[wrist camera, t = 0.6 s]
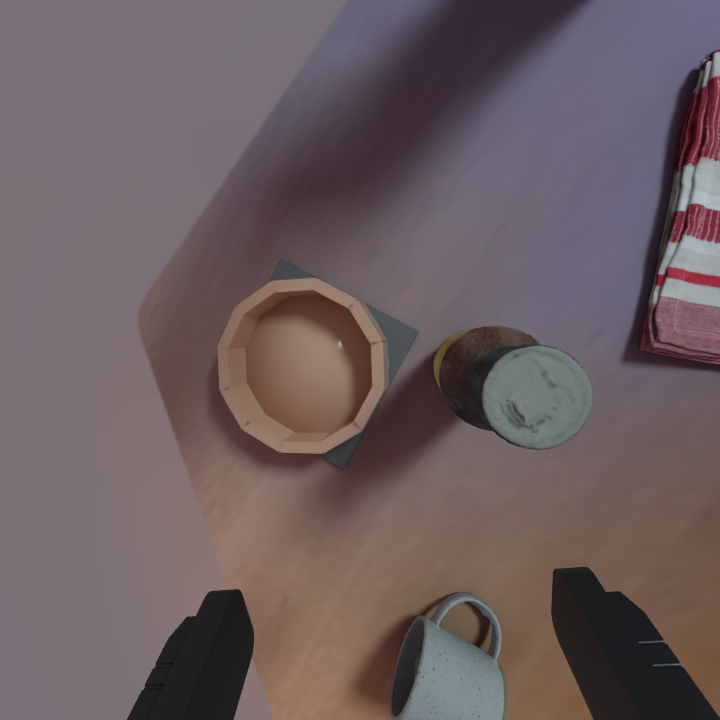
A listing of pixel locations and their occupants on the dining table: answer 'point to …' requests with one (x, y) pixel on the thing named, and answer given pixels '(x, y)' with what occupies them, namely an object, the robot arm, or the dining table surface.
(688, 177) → the dish towel
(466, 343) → the sauce bottle
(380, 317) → the mat
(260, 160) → the dining table surface
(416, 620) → the ceramic mug
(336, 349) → the bowl
